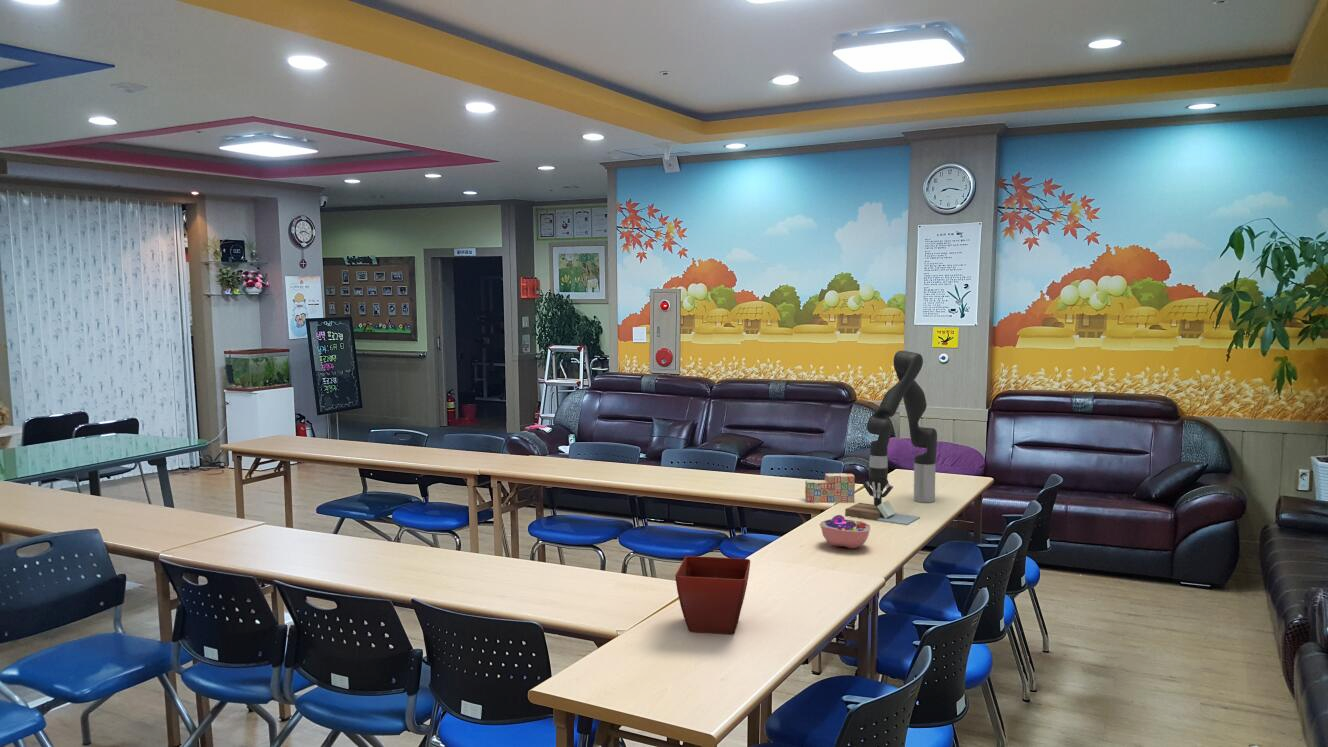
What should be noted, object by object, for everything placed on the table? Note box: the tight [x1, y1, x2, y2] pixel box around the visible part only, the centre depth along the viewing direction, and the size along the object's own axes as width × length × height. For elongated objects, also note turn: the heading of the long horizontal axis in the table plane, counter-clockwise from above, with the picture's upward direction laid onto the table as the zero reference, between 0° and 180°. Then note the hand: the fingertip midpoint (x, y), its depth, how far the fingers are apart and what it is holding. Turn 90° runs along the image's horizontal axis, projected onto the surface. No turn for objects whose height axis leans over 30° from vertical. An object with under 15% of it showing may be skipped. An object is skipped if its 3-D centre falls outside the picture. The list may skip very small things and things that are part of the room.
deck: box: [844, 502, 883, 522], centre depth 377 cm, size 14×14×3 cm
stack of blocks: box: [804, 472, 856, 504], centre depth 403 cm, size 21×6×12 cm, turn 88°
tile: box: [877, 500, 897, 519], centre depth 372 cm, size 8×6×2 cm
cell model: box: [819, 514, 871, 549], centre depth 328 cm, size 17×20×11 cm
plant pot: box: [675, 555, 751, 635], centre depth 249 cm, size 19×19×17 cm
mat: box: [876, 512, 921, 526], centre depth 369 cm, size 14×13×1 cm
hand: (877, 506), depth 374 cm, fingers closed
